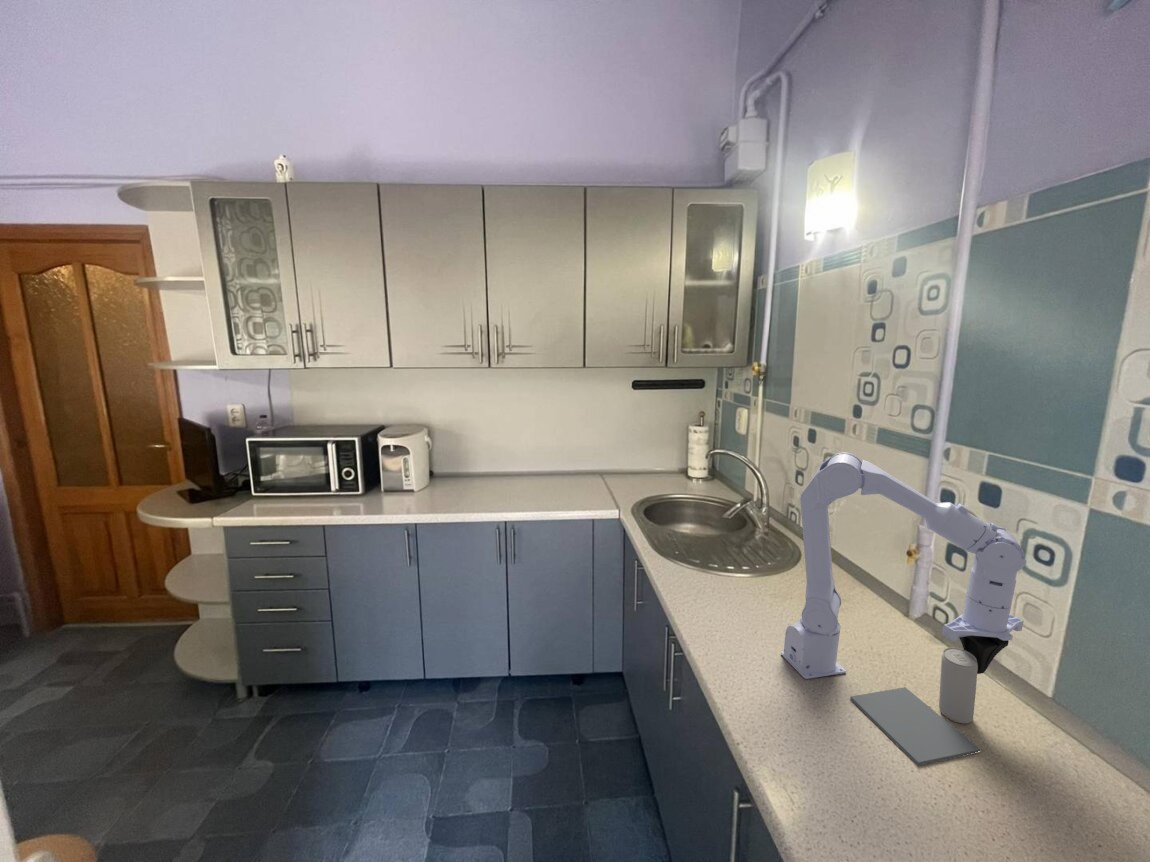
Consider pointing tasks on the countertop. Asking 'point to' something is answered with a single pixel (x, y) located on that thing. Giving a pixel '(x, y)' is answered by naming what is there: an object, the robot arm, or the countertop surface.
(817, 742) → the countertop surface
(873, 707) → the mat
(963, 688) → the beverage can
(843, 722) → the countertop surface
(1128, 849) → the countertop surface
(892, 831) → the countertop surface
